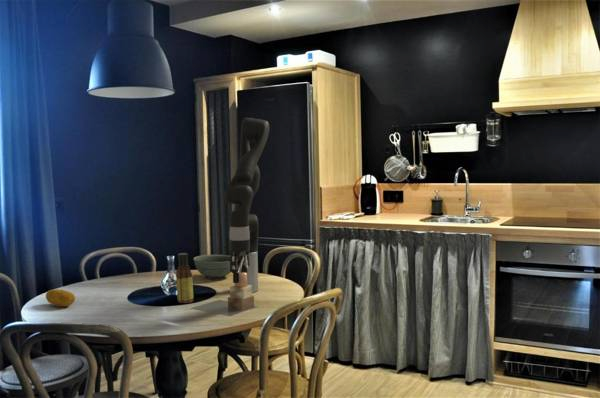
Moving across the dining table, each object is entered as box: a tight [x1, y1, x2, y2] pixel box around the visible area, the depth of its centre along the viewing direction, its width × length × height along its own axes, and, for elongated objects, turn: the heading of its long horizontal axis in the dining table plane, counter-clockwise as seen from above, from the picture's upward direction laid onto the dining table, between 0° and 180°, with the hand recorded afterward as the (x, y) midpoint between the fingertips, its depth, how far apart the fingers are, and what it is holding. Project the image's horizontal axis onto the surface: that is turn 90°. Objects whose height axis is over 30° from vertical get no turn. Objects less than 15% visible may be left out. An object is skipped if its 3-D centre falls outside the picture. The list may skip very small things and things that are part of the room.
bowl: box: [193, 254, 233, 281], centre depth 277 cm, size 21×21×10 cm
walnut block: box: [227, 295, 255, 310], centre depth 218 cm, size 7×7×4 cm
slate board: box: [190, 299, 259, 317], centre depth 217 cm, size 20×16×1 cm
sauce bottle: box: [175, 252, 194, 304], centre depth 227 cm, size 6×6×20 cm
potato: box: [45, 289, 76, 308], centre depth 225 cm, size 8×14×7 cm, turn 53°
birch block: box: [229, 284, 253, 299], centre depth 217 cm, size 6×6×4 cm
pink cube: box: [234, 272, 247, 288], centre depth 217 cm, size 5×5×5 cm
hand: (240, 280), depth 217 cm, fingers open, 8 cm apart
